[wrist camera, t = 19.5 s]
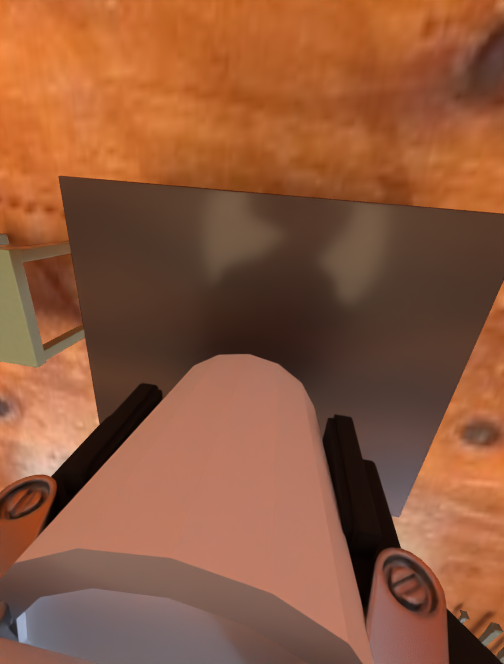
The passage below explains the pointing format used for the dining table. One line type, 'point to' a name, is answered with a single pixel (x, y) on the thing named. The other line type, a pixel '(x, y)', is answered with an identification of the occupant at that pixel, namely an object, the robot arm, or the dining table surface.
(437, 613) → the robot arm
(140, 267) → the model table
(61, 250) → the chair
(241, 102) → the dining table surface
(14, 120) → the dining table surface
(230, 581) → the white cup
